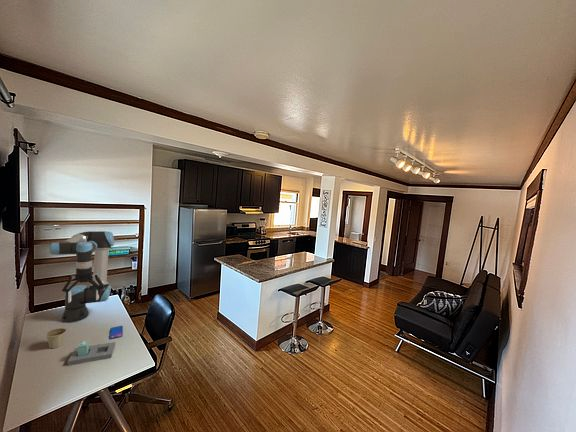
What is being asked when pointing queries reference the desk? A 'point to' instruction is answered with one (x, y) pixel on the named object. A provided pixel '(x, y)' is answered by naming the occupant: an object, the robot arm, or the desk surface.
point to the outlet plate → (93, 354)
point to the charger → (83, 348)
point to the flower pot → (56, 337)
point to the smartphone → (116, 332)
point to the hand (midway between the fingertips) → (83, 300)
